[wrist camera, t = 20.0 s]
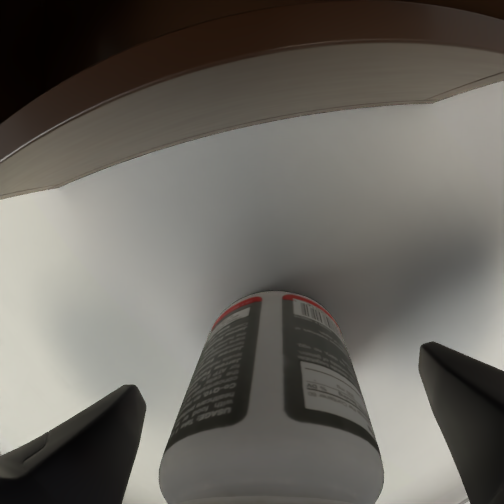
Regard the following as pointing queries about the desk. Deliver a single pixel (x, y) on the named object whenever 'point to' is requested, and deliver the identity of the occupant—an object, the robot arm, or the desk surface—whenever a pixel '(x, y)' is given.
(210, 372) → the pill bottle
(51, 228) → the desk surface
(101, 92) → the bin
